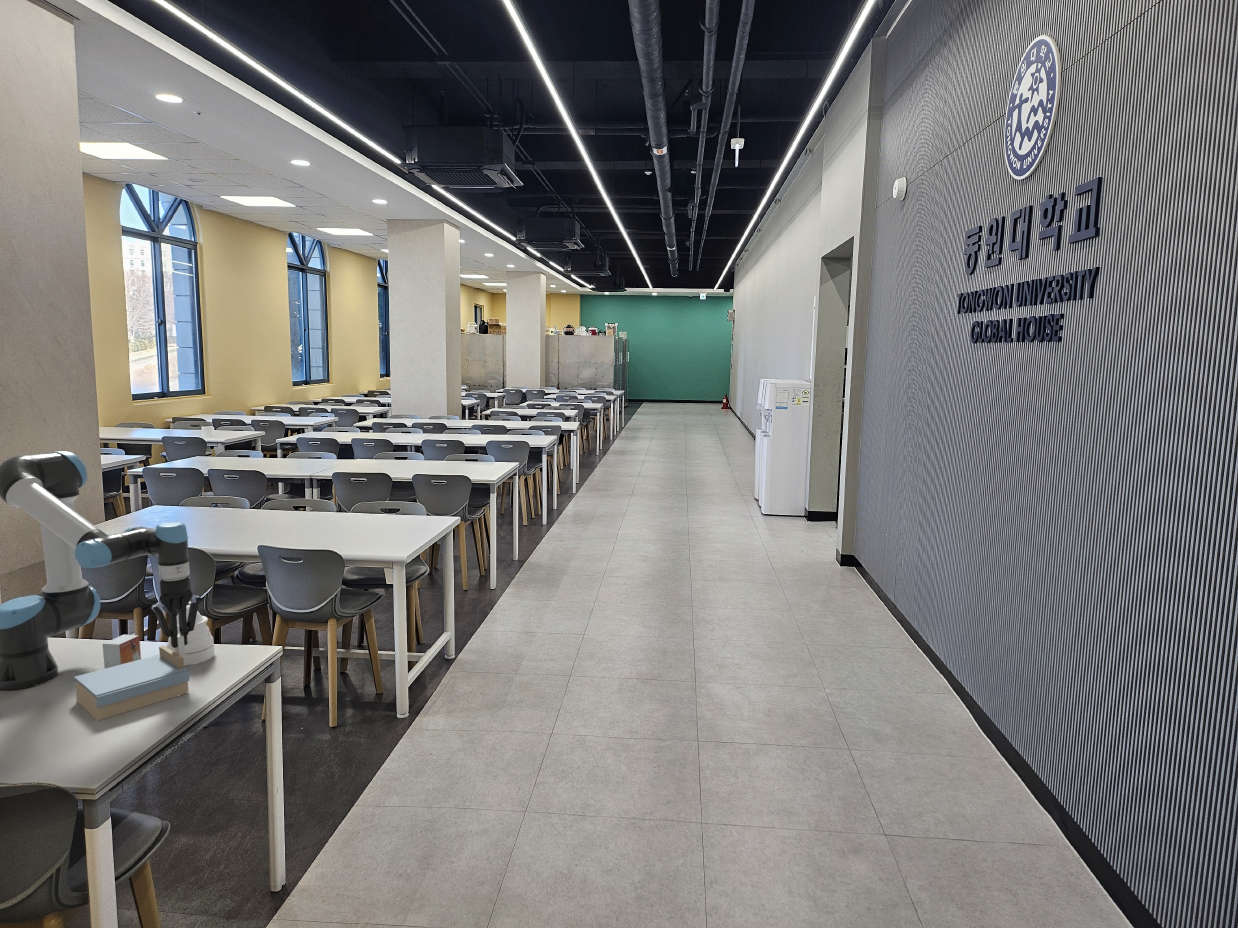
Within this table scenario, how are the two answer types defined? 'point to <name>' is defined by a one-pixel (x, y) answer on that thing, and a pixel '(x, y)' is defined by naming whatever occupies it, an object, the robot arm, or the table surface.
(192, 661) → the honey pot
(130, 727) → the table surface
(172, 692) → the tray
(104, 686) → the lid
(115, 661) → the small box
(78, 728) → the table surface
